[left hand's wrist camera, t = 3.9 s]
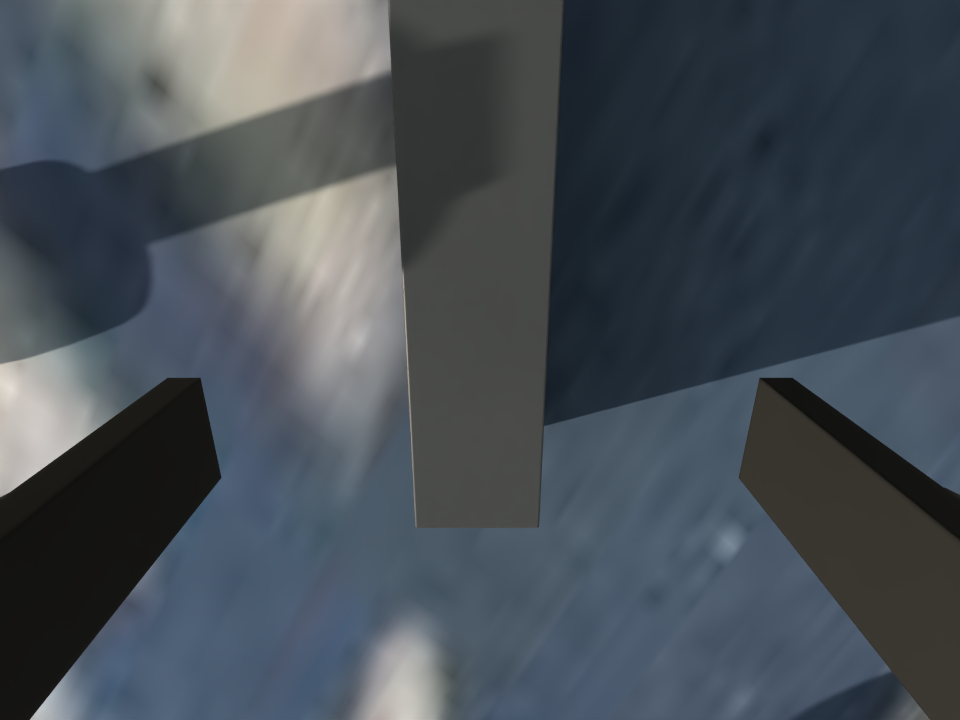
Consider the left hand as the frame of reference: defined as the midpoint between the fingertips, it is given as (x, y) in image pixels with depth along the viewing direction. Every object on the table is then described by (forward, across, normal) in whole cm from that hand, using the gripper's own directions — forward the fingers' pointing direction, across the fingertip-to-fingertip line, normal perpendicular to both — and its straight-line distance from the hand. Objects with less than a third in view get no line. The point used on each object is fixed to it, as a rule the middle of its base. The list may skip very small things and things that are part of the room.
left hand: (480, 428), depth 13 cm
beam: (+13, 0, -21) cm, 25 cm away
